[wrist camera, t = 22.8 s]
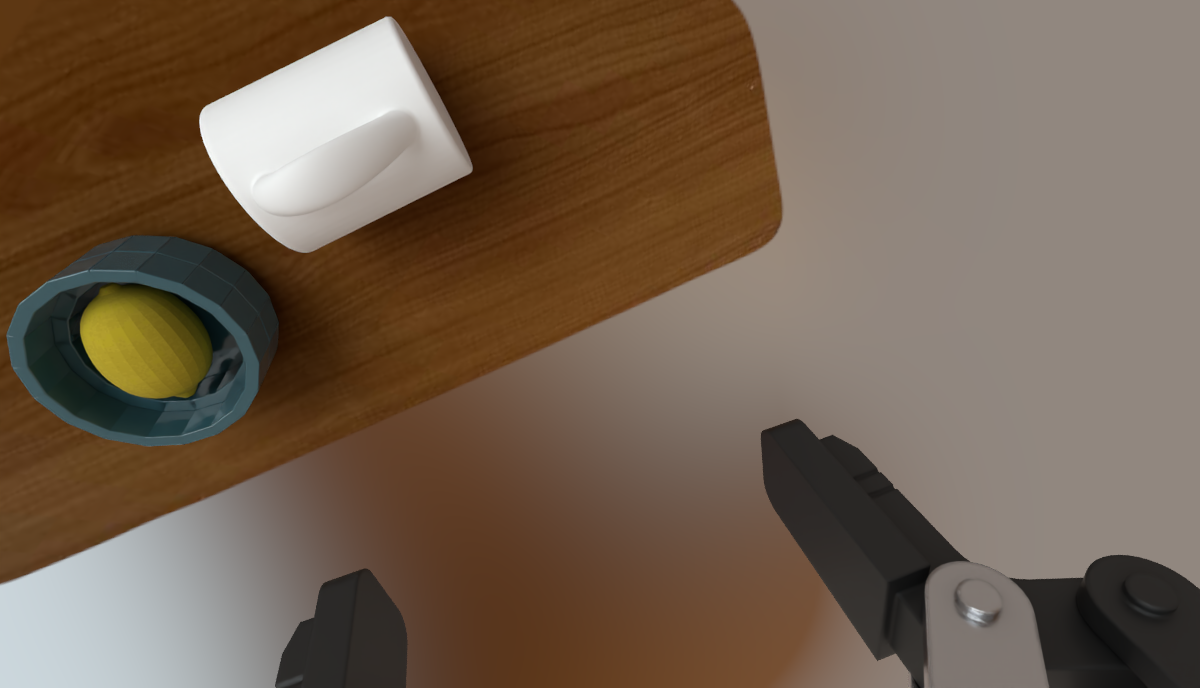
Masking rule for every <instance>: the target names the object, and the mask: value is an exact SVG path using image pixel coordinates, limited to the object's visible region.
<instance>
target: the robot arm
mask: <svg viewBox="0 0 1200 688" xmlns="http://www.w3.org/2000/svg"><path fill="white" fill-rule="evenodd" d="M761 447H762V460H763V476H764V484H765V489H766V492H767V495H768V497H769V500H770V502H771V503H772V506H773V508H774V509H775V511H776V512H777V514H778V515H779V516H780V518H781V520H782V521H783V523H784V524H785V526H786V527H787V528H788V530H789V531H790V533H791V535H792V536H793V537H794V539H795V540H796V542H797V543H798V545H799V546H800V548H801V549H802V551H803V552H804V554H805V555H806V556H807V558H808V560H809V561H810V562H811V564H812V565H813V567H814V568H815V570H816V571H817V573H818V574H819V576H820V577H821V579H822V580H823V582H824V583H825V584H826V586H827V587H828V589H829V590H830V592H831V593H832V595H833V596H834V598H835V599H836V601H837V602H838V604H839V605H840V606H841V608H842V610H843V611H844V613H845V614H846V615H847V617H848V618H849V620H850V621H851V623H852V624H853V626H854V627H855V629H856V630H857V632H858V633H859V635H860V636H861V637H862V639H863V640H864V642H865V643H866V645H867V646H868V648H869V649H870V651H871V652H872V653H873V655H874V657H875V658H876V659H877V661H878V660H881V659H883V658H885V657H888V656H890V655H893V654H895V653H896V654H897V655H898V657H899V658H900V660H901V661H902V662H903V664H904V665H905V666H906V668H907V669H908V671H909V673H908V688H1200V589H1199V588H1197V587H1196V586H1195V585H1194V584H1192V583H1191V582H1190V581H1188V580H1187V579H1186V578H1184V577H1183V576H1181V575H1180V574H1178V573H1176V572H1175V571H1173V570H1171V569H1169V568H1167V567H1165V566H1163V565H1161V564H1158V563H1156V562H1152V561H1150V560H1147V559H1143V558H1140V557H1134V556H1128V555H1111V556H1106V557H1102V558H1100V559H1098V560H1096V561H1094V562H1093V563H1092V564H1091V565H1090V566H1089V568H1088V569H1087V571H1086V573H1085V576H1084V578H1064V579H1035V580H1034V579H1033V580H1026V579H1013V578H1008V577H1006V576H1005V575H1003V574H1002V573H1000V572H998V571H996V570H994V569H992V568H990V567H987V566H985V565H982V564H978V563H973V562H970V561H969V560H967V559H966V558H964V557H963V556H962V555H961V554H960V553H959V552H958V551H956V550H955V549H954V548H953V547H952V545H950V544H949V542H948V541H947V540H946V539H945V538H944V537H943V536H942V535H941V534H940V533H939V532H938V531H937V530H936V529H935V528H934V527H933V526H932V525H931V524H930V523H929V522H928V521H927V519H925V517H924V516H923V515H922V514H921V513H920V512H919V511H918V510H917V509H916V508H915V507H914V506H913V505H912V504H911V503H910V502H909V501H908V500H907V499H906V498H905V497H904V496H903V495H902V494H901V492H899V490H898V489H894V487H893V484H892V483H891V482H890V481H889V480H888V479H887V478H886V477H885V476H884V475H883V474H882V473H881V472H880V473H879V472H878V470H877V468H876V466H875V465H874V464H873V463H872V462H871V461H870V460H869V459H868V458H867V457H866V456H865V455H864V454H863V453H862V452H861V451H860V450H859V449H858V448H856V447H854V446H852V445H851V444H849V443H847V442H845V441H843V440H841V439H839V438H837V437H835V436H833V435H831V436H828V437H825V438H823V439H820V440H819V439H818V438H817V437H816V436H815V435H814V434H813V432H812V431H811V430H810V429H809V428H808V427H807V426H806V425H805V424H804V423H803V422H802V421H801V420H799V419H795V420H792V421H789V422H786V423H783V424H780V425H778V426H775V427H772V428H769V429H766V430H763V431H762V433H761ZM406 665H407V633H406V628H405V623H404V620H403V617H402V615H401V613H400V611H399V610H398V608H397V607H396V605H395V604H394V603H393V602H392V600H391V598H390V597H389V596H388V595H387V593H386V592H385V590H384V589H383V587H382V586H381V585H380V583H379V582H378V581H377V579H376V578H375V576H374V575H373V574H372V572H371V571H370V570H368V569H362V570H359V571H356V572H353V573H350V574H347V575H345V576H342V577H339V578H336V579H333V580H331V581H328V582H325V583H324V584H323V585H322V586H321V589H320V591H319V595H318V601H317V606H316V611H315V617H314V618H311V619H309V620H306V621H303V622H300V624H299V626H298V627H297V629H296V631H295V632H294V634H293V636H292V638H291V640H290V641H289V643H288V645H287V647H286V648H285V650H284V652H283V654H282V658H281V662H280V666H279V671H278V675H277V679H276V684H275V687H276V688H406V668H407V666H406Z"/></svg>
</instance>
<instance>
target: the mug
mask: <svg viewBox="0 0 1200 688" xmlns="http://www.w3.org/2000/svg"><path fill="white" fill-rule="evenodd" d="M200 131H201V135H202V138H203V142H204V144H205V147H206V150H207V152H208V154H209V156H210V158H211V160H212V162H213V164H214V166H215V168H216V170H217V171H218V173H219V175H220V176H221V178H222V180H223V181H224V183H225V184H226V186H227V187H228V189H229V190H230V191H231V193H232V194H233V195H234V197H235V198H236V199H237V201H238V202H239V203H240V204H241V206H242V207H243V208H244V209H245V210H246V212H247V213H248V214H249V215H250V216H251V217H252V218H253V219H254V220H255V221H256V222H257V223H258V224H259V225H260V226H261V227H262V228H263V229H264V230H265V231H266V232H267V233H268V234H269V235H271V236H272V237H273V238H274V239H276V240H277V241H279V242H280V243H282V244H283V245H285V246H286V247H288V248H290V249H292V250H295V251H298V252H302V253H308V252H312V251H314V250H316V249H318V248H320V247H322V246H324V245H326V244H328V243H330V242H332V241H334V240H336V239H338V238H340V237H343V236H345V235H347V234H349V233H351V232H353V231H355V230H357V229H359V228H361V227H363V226H365V225H367V224H369V223H371V222H373V221H375V220H377V219H379V218H381V217H383V216H385V215H387V214H389V213H391V212H393V211H395V210H397V209H399V208H401V207H403V206H405V205H407V204H409V203H411V202H413V201H415V200H417V199H419V198H421V197H423V196H425V195H427V194H429V193H431V192H433V191H435V190H437V189H439V188H442V187H444V186H446V185H448V184H450V183H452V182H454V181H456V180H458V179H460V178H462V177H464V176H466V175H468V174H470V173H471V172H472V169H473V167H472V163H471V160H470V158H469V155H468V153H467V151H466V149H465V146H464V144H463V142H462V140H461V138H460V136H459V134H458V132H457V130H456V128H455V126H454V124H453V122H452V120H451V118H450V116H449V114H448V112H447V110H446V108H445V106H444V104H443V102H442V100H441V98H440V96H439V94H438V92H437V91H436V89H435V87H434V85H433V83H432V81H431V79H430V77H429V76H428V74H427V72H426V70H425V68H424V67H423V65H422V63H421V61H420V59H419V58H418V56H417V54H416V52H415V51H414V49H413V47H412V45H411V44H410V42H409V40H408V39H407V37H406V35H405V34H404V32H403V31H402V29H401V28H400V26H399V25H398V23H397V22H396V21H395V20H394V19H393V18H392V17H385V18H383V19H381V20H379V21H377V22H375V23H373V24H371V25H369V26H367V27H365V28H363V29H361V30H359V31H357V32H355V33H353V34H351V35H349V36H347V37H345V38H343V39H341V40H338V41H336V42H334V43H332V44H330V45H328V46H326V47H324V48H322V49H320V50H318V51H316V52H314V53H312V54H310V55H308V56H306V57H304V58H302V59H300V60H298V61H296V62H294V63H292V64H290V65H288V66H286V67H284V68H282V69H280V70H278V71H276V72H274V73H272V74H270V75H268V76H266V77H264V78H262V79H260V80H258V81H256V82H254V83H252V84H249V85H247V86H245V87H243V88H241V89H239V90H237V91H235V92H233V93H231V94H229V95H227V96H225V97H223V98H221V99H219V100H217V101H215V102H213V103H211V104H209V105H207V106H206V107H204V109H203V110H202V112H201V114H200Z"/></svg>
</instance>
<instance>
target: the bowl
mask: <svg viewBox="0 0 1200 688" xmlns="http://www.w3.org/2000/svg"><path fill="white" fill-rule="evenodd" d="M112 282H114V283H117V284H120V285H127V284H140V285H147V286H150V287H154V288H158V289H161V290H165V291H167V292H169V293H171V294H172V295H174V296H175V297H177V298H178V299H179V300H181V301H182V302H183V303H184V304H186V305H187V306H188V307H189V308H190V309H191V310H192V311H193V312H194V313H195V314H196V315H197V316H198V318H199V319H200V320H201V322H202V323H203V325H204V326H205V328H206V330H207V332H208V334H209V337H210V340H211V344H212V351H213V358H212V363H211V366H210V368H209V370H208V372H207V374H206V376H205V377H204V378H203V379H202V380H201V381H200V382H199V383H198V386H197V389H196V392H195V394H194V395H192V396H190V397H188V398H183V397H176V396H172V397H168V398H157V399H154V398H144V397H139V396H135V395H132V394H130V393H127V392H125V391H123V390H122V389H120V388H119V387H117V386H116V385H114V384H112V383H111V382H110V381H109V380H107V379H106V378H105V377H104V376H103V375H102V374H101V373H100V372H99V371H98V370H97V368H96V367H95V366H94V364H93V363H92V361H91V360H90V358H89V356H88V354H87V352H86V350H85V348H84V345H83V342H82V339H81V334H80V322H81V317H82V315H83V313H84V310H85V309H86V307H87V306H88V304H89V303H90V302H91V301H92V300H93V299H94V298H95V297H96V296H97V295H98V294H99V290H100V287H102V286H103V285H105V284H108V283H112ZM278 333H279V321H278V318H277V316H276V313H275V311H274V308H273V305H272V303H271V300H270V298H269V296H268V294H267V293H266V291H265V290H264V289H263V288H262V287H261V286H260V285H259V283H258V282H257V281H256V280H255V279H254V278H253V276H252V275H251V274H250V273H249V272H248V271H247V270H245V269H244V268H243V267H241V266H240V265H238V264H237V263H235V262H233V261H232V260H230V259H229V258H227V257H225V256H224V255H222V254H221V253H219V252H218V251H216V250H213V248H209V247H206V246H203V245H200V244H197V243H193V242H190V241H187V240H184V239H181V238H177V237H165V236H138V235H135V236H129V237H125V238H121V239H118V240H114V241H111V242H107V243H103V244H100V245H98V246H96V247H94V248H93V249H91V250H90V251H89V252H87V253H86V254H84V255H83V256H82V257H80V258H79V259H78V260H76V261H75V262H73V263H72V264H71V265H69V266H68V267H66V268H65V269H64V270H62V271H61V272H59V273H58V274H57V275H55V276H54V277H53V278H51V279H50V280H48V281H47V282H46V283H44V284H43V285H42V286H41V287H39V288H38V289H37V290H36V291H34V292H33V293H32V294H30V295H29V296H28V297H27V298H25V299H24V300H23V301H22V302H20V303H19V305H18V306H17V309H16V311H15V314H14V316H13V319H12V321H11V324H10V327H9V329H8V332H7V341H8V347H9V353H10V358H11V364H12V367H13V370H14V371H15V373H16V374H17V375H18V377H19V378H20V380H21V381H22V383H23V384H24V385H25V387H26V388H27V390H28V391H29V392H30V394H31V395H32V397H33V398H34V399H35V400H37V401H38V402H39V403H41V404H42V405H43V406H45V407H46V408H47V409H49V410H50V411H51V412H53V413H54V414H55V415H57V416H58V417H59V418H61V419H62V420H63V421H65V422H67V423H68V424H70V425H73V426H75V427H78V428H80V429H82V430H85V431H87V432H90V433H92V434H94V435H97V436H99V437H102V438H104V439H109V440H114V441H120V442H126V443H132V444H137V445H143V446H163V445H182V444H188V443H191V442H194V441H198V440H201V439H204V438H207V437H210V436H213V435H216V434H219V433H221V432H222V431H223V430H225V429H226V428H227V427H229V426H230V425H232V424H233V423H234V422H236V421H237V420H238V419H240V418H241V417H243V416H244V415H245V413H246V412H247V410H248V408H249V407H250V405H251V403H252V401H253V400H254V398H255V396H256V395H257V393H258V391H259V389H260V386H261V384H262V382H263V380H264V377H265V375H266V373H267V371H268V368H269V366H270V364H271V362H272V359H273V357H274V355H275V353H276V351H277V348H278Z"/></svg>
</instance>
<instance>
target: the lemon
mask: <svg viewBox="0 0 1200 688" xmlns="http://www.w3.org/2000/svg"><path fill="white" fill-rule="evenodd" d="M80 334H81V339H82V342H83V345H84V348H85V350H86V352H87V354H88V356H89V358H90V360H91V361H92V363H93V364H94V366H95V367H96V368H97V370H98V371H99V372H100V373H101V374H102V375H103V376H104V377H105V378H106V379H107V380H109V381H110V382H111V383H112V384H114V385H116V386H117V387H119V388H120V389H122V390H123V391H125V392H127V393H130V394H132V395H135V396H139V397H144V398H154V399H157V398H168V397H172V396H176V397H183V398H188V397H190V396H192V395H194V394H195V392H196V389H197V386H198V383H199V382H200V381H201V380H202V379H203V378H204V377H205V376H206V374H207V372H208V370H209V368H210V366H211V363H212V358H213V351H212V344H211V340H210V337H209V334H208V332H207V330H206V328H205V326H204V325H203V323H202V322H201V320H200V319H199V318H198V316H197V315H196V314H195V313H194V312H193V311H192V310H191V309H190V308H189V307H188V306H187V305H186V304H184V303H183V302H182V301H181V300H179V299H178V298H177V297H175V296H174V295H172V294H171V293H169V292H167V291H165V290H161V289H158V288H154V287H150V286H147V285H140V284H127V285H120V284H117V283H114V282H112V283H108V284H105V285H103V286H102V287H100V290H99V294H98V295H97V296H96V297H95V298H94V299H93V300H92V301H91V302H90V303H89V304H88V306H87V307H86V309H85V310H84V313H83V315H82V317H81V322H80Z"/></svg>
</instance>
